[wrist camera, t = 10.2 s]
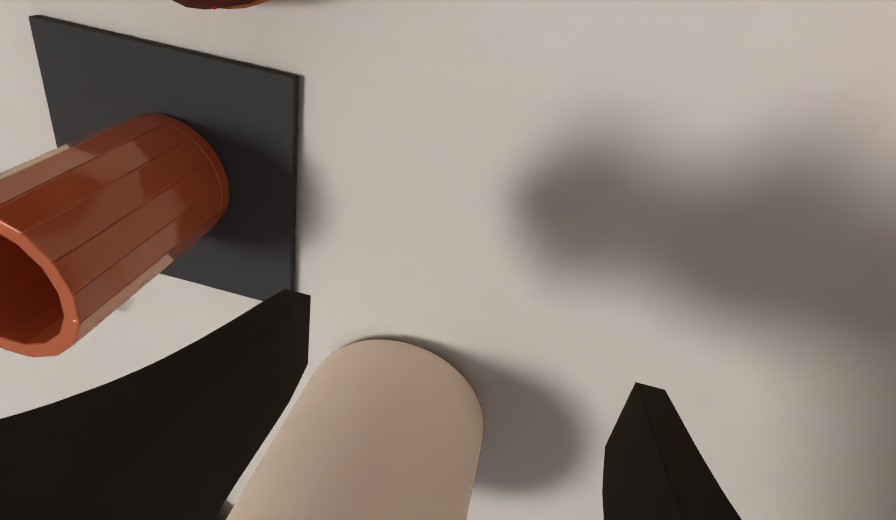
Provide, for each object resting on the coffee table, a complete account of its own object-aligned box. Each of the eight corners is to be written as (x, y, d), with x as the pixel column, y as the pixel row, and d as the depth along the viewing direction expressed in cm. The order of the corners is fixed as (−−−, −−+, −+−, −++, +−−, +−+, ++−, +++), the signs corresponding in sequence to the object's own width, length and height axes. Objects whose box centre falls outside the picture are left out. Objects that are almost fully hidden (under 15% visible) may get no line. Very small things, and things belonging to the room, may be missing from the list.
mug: (336, 496, 32) (242, 713, 23) (232, 393, 29) (82, 597, 20) (521, 436, 26) (488, 690, 18) (415, 304, 24) (316, 528, 15)
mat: (294, 303, 25) (290, 308, 25) (86, 247, 26) (79, 252, 26) (299, 75, 20) (294, 77, 19) (37, 14, 21) (27, 16, 20)
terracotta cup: (232, 244, 24) (92, 375, 17) (121, 215, 24) (-59, 331, 17) (227, 129, 21) (58, 231, 14) (102, 98, 21) (-120, 183, 15)
